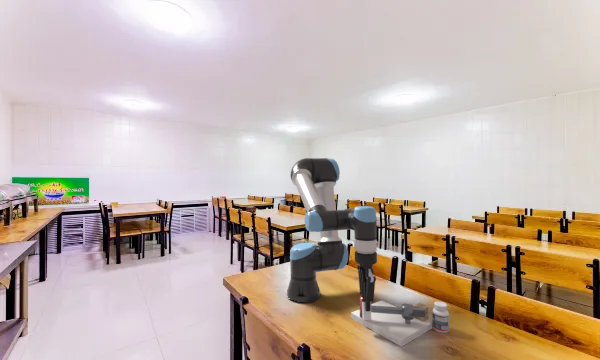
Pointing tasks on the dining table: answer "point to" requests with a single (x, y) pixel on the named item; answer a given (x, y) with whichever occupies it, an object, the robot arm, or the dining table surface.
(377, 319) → the base
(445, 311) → the pill bottle
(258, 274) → the dining table surface
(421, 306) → the walnut block
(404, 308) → the lever
